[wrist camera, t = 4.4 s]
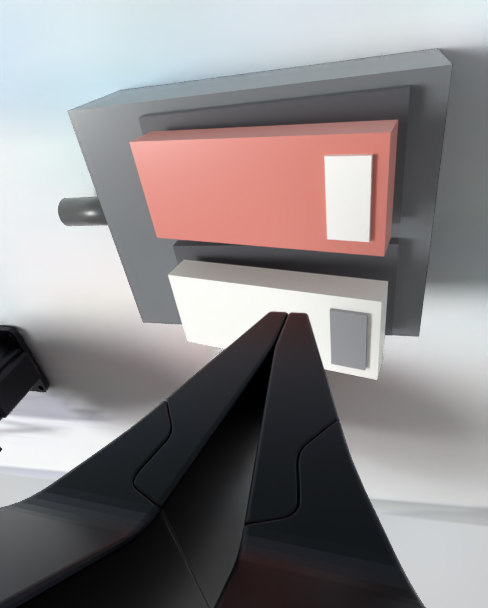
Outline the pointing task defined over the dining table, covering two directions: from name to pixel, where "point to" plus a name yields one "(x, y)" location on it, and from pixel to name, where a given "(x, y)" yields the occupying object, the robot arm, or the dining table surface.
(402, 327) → the rocker switch panel
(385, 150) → the red rocker
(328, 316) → the white rocker
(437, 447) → the dining table surface
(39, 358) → the dining table surface
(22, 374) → the robot arm
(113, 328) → the dining table surface
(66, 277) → the dining table surface
